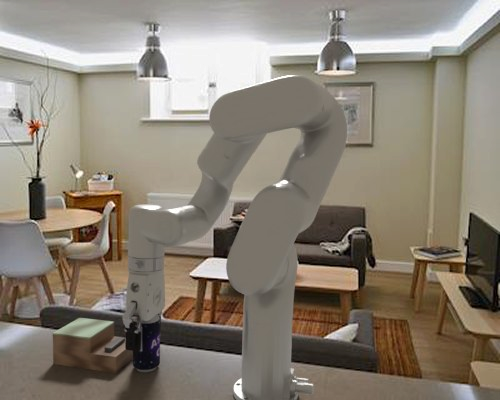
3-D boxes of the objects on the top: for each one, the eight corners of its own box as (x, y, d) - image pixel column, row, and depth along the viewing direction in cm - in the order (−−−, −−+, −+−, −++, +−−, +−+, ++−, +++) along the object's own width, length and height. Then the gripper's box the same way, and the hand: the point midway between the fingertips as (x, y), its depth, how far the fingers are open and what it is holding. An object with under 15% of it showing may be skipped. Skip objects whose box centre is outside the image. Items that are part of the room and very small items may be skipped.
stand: (137, 353, 109) (137, 324, 108) (116, 373, 99) (116, 340, 98) (79, 346, 112) (79, 317, 111) (53, 364, 102) (52, 332, 102)
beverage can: (153, 375, 98) (153, 319, 97) (128, 372, 100) (128, 317, 98) (163, 363, 104) (164, 310, 103) (139, 360, 105) (139, 308, 104)
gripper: (144, 275, 90) (141, 360, 92) (178, 256, 107) (175, 329, 109) (108, 271, 92) (106, 355, 94) (147, 253, 109) (145, 324, 111)
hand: (143, 341), depth 101 cm, fingers open, 9 cm apart
